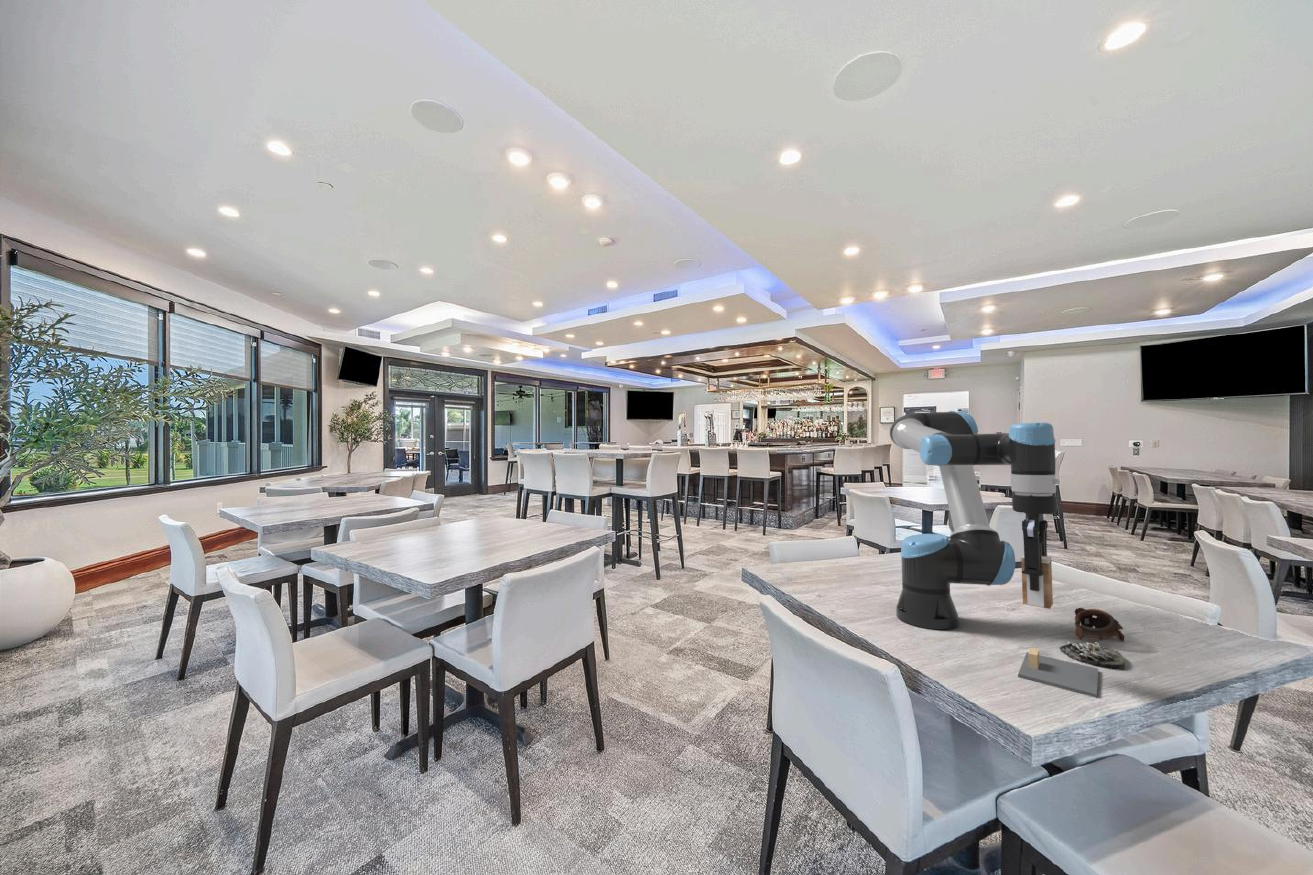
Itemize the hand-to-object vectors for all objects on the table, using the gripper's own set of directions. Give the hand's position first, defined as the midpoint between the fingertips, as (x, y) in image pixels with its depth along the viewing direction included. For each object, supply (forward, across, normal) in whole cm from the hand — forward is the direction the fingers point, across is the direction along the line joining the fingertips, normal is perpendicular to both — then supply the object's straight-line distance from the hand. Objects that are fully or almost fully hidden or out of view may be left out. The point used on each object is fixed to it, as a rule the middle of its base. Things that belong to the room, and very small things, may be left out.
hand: (1037, 602), depth 100 cm
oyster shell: (+15, +16, -8) cm, 24 cm away
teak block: (0, 0, 0) cm, 0 cm away
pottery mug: (+15, +31, -7) cm, 35 cm away
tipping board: (+15, +1, -3) cm, 15 cm away
